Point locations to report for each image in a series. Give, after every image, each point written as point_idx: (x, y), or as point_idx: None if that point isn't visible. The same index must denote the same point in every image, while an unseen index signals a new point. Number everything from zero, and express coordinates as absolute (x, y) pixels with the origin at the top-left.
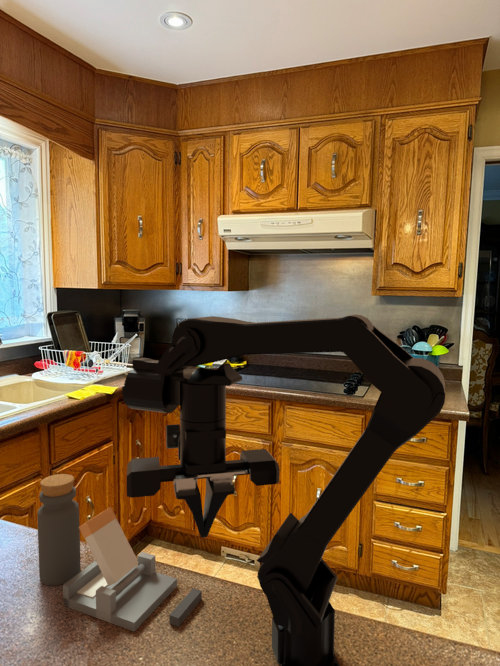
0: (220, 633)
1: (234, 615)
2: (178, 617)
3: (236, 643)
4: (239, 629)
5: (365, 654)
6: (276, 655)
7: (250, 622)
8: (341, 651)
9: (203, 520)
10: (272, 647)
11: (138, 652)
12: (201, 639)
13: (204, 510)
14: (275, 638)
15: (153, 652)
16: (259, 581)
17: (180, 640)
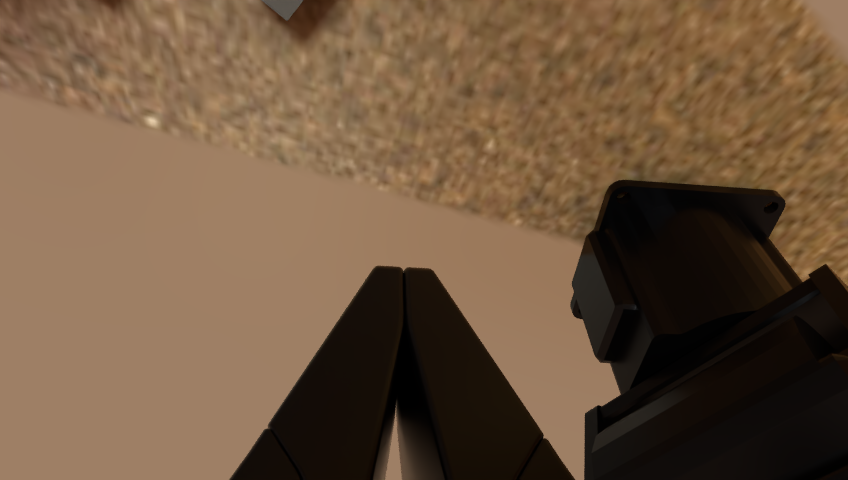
0: (454, 93)
1: (544, 12)
2: (287, 15)
3: (493, 153)
4: (530, 95)
5: None
6: (577, 285)
7: (588, 73)
8: None
9: (407, 373)
10: (586, 246)
11: (137, 93)
12: (377, 100)
13: (426, 446)
14: (591, 307)
15: (195, 109)
16: (594, 468)
17: (297, 82)
